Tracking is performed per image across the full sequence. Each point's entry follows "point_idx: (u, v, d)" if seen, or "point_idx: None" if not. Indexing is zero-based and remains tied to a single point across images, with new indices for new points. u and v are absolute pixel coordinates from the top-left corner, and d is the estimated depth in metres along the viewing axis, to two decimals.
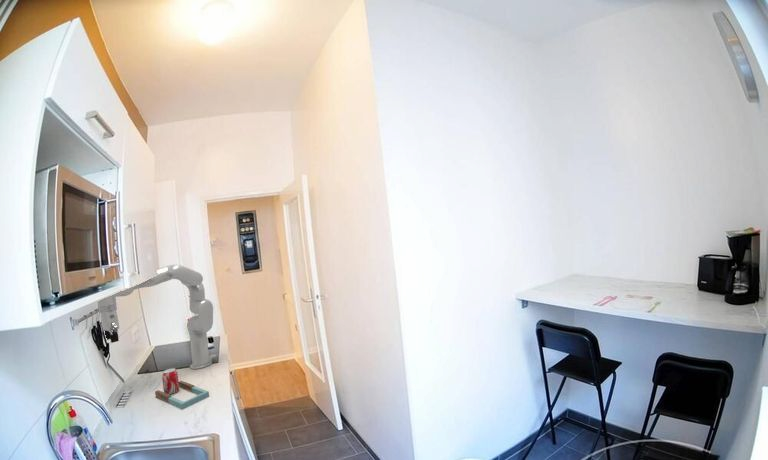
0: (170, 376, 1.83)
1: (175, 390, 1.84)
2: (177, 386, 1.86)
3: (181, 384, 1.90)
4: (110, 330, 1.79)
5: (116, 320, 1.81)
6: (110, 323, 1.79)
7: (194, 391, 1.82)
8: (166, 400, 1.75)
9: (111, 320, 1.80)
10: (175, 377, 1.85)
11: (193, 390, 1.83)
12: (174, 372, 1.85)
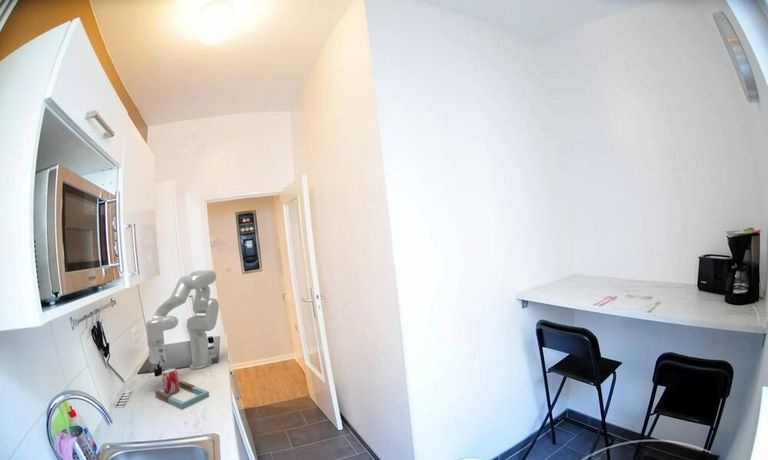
0: (170, 376, 1.83)
1: (175, 389, 1.84)
2: (177, 386, 1.86)
3: (181, 384, 1.90)
4: (156, 365, 1.89)
5: (164, 354, 1.90)
6: (159, 357, 1.88)
7: (194, 391, 1.82)
8: (166, 400, 1.75)
9: (160, 354, 1.88)
10: (175, 377, 1.85)
11: (193, 390, 1.83)
12: (174, 372, 1.85)
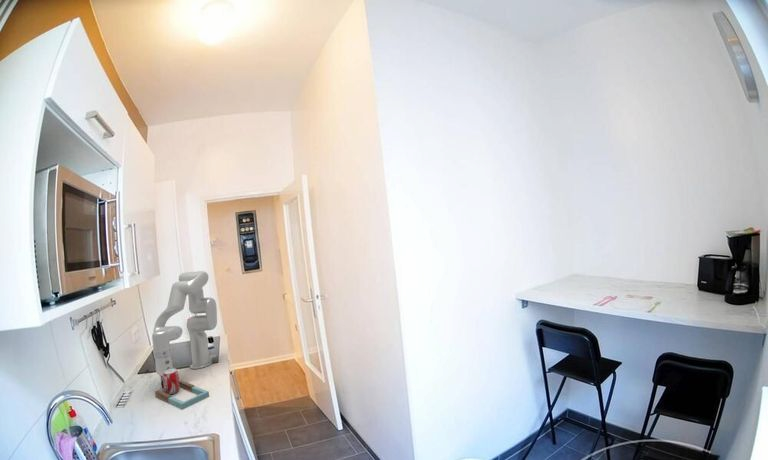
0: (171, 377, 1.81)
1: (175, 390, 1.84)
2: (177, 386, 1.85)
3: (181, 384, 1.90)
4: None
5: (171, 365, 1.87)
6: (165, 369, 1.85)
7: (194, 391, 1.82)
8: (166, 400, 1.75)
9: (166, 366, 1.85)
10: (176, 378, 1.84)
11: (193, 390, 1.83)
12: (175, 373, 1.83)
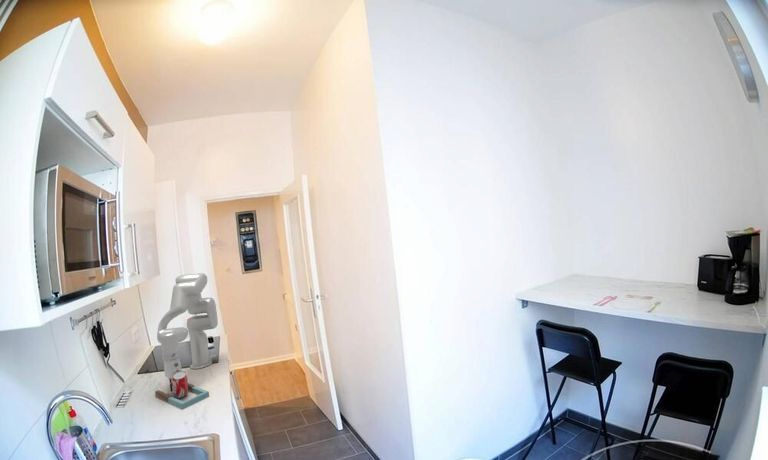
0: (180, 383, 1.75)
1: (184, 394, 1.78)
2: (186, 390, 1.79)
3: None
4: None
5: (180, 368, 1.81)
6: (174, 371, 1.78)
7: (194, 391, 1.82)
8: (166, 400, 1.75)
9: (175, 368, 1.79)
10: (185, 383, 1.77)
11: (193, 390, 1.83)
12: (184, 378, 1.77)
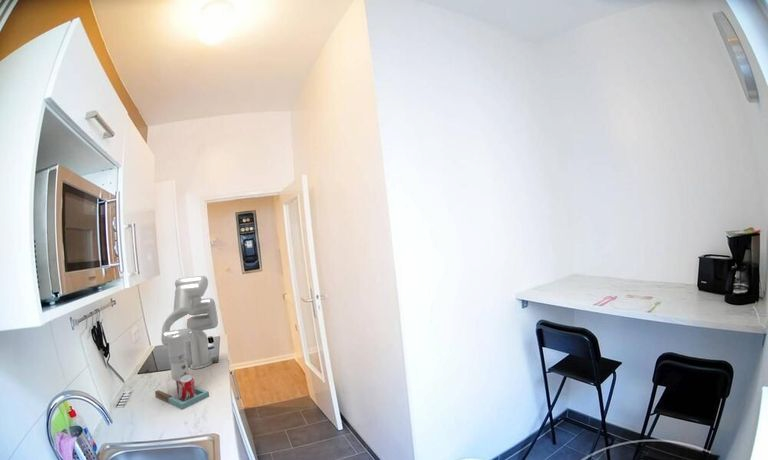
0: (185, 386, 1.70)
1: (190, 398, 1.74)
2: (192, 394, 1.75)
3: None
4: None
5: (187, 370, 1.76)
6: (182, 374, 1.74)
7: None
8: (166, 400, 1.75)
9: (183, 371, 1.75)
10: (191, 386, 1.72)
11: None
12: (190, 382, 1.72)
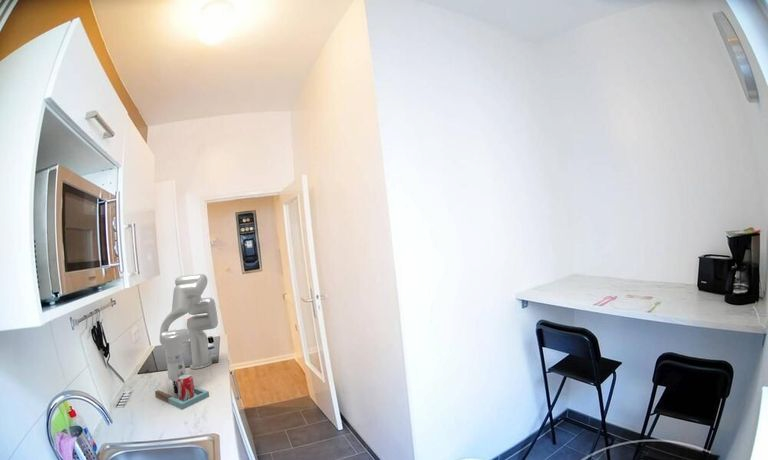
0: (184, 383, 1.73)
1: (189, 397, 1.74)
2: (192, 393, 1.75)
3: None
4: (176, 382, 1.80)
5: (184, 370, 1.80)
6: (178, 373, 1.78)
7: (194, 391, 1.82)
8: (166, 400, 1.75)
9: (179, 370, 1.78)
10: (190, 384, 1.75)
11: None
12: (189, 378, 1.75)
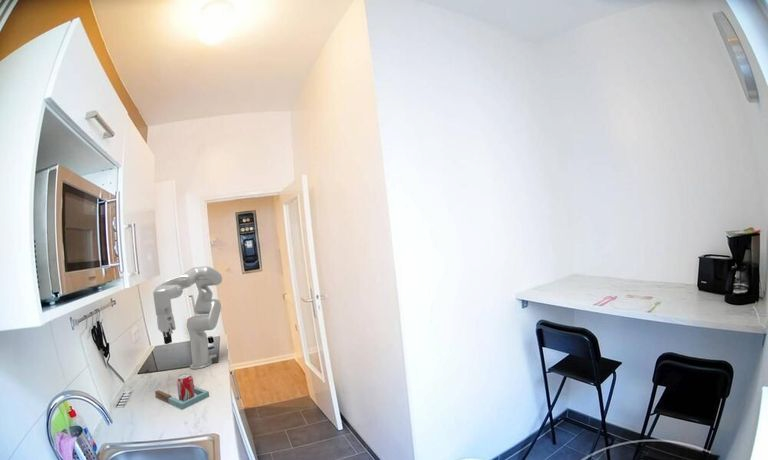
0: (184, 383, 1.73)
1: (189, 397, 1.74)
2: (192, 393, 1.75)
3: None
4: (166, 333, 1.90)
5: (173, 321, 1.91)
6: (168, 325, 1.89)
7: (194, 391, 1.82)
8: (166, 400, 1.75)
9: (169, 322, 1.89)
10: (189, 383, 1.75)
11: None
12: (188, 378, 1.75)
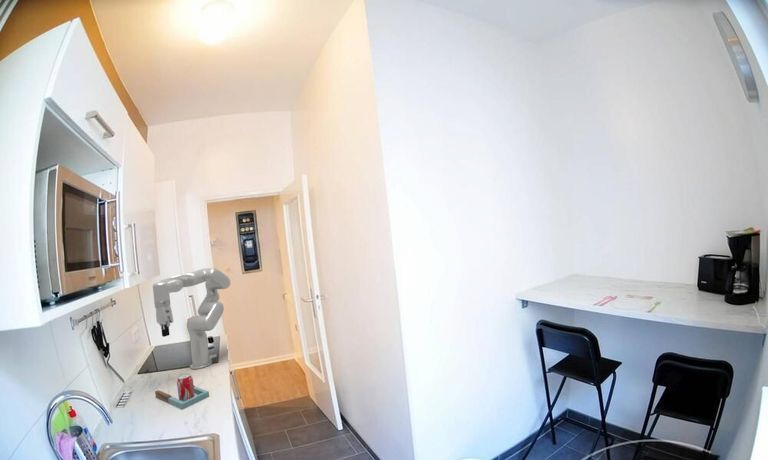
0: (184, 383, 1.73)
1: (189, 397, 1.74)
2: (192, 393, 1.75)
3: None
4: (164, 325, 1.95)
5: (171, 314, 1.96)
6: (166, 317, 1.94)
7: (194, 391, 1.82)
8: (166, 400, 1.75)
9: (166, 314, 1.94)
10: (189, 384, 1.75)
11: None
12: (188, 378, 1.75)
